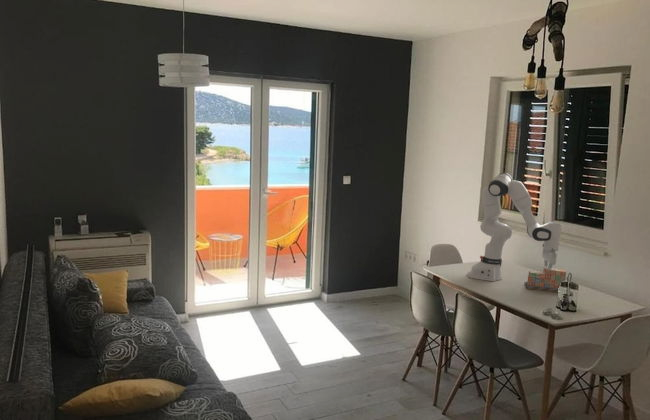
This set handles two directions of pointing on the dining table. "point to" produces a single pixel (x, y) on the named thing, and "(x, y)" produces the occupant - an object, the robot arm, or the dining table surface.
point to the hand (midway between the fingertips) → (547, 268)
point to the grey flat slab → (540, 288)
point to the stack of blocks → (546, 278)
